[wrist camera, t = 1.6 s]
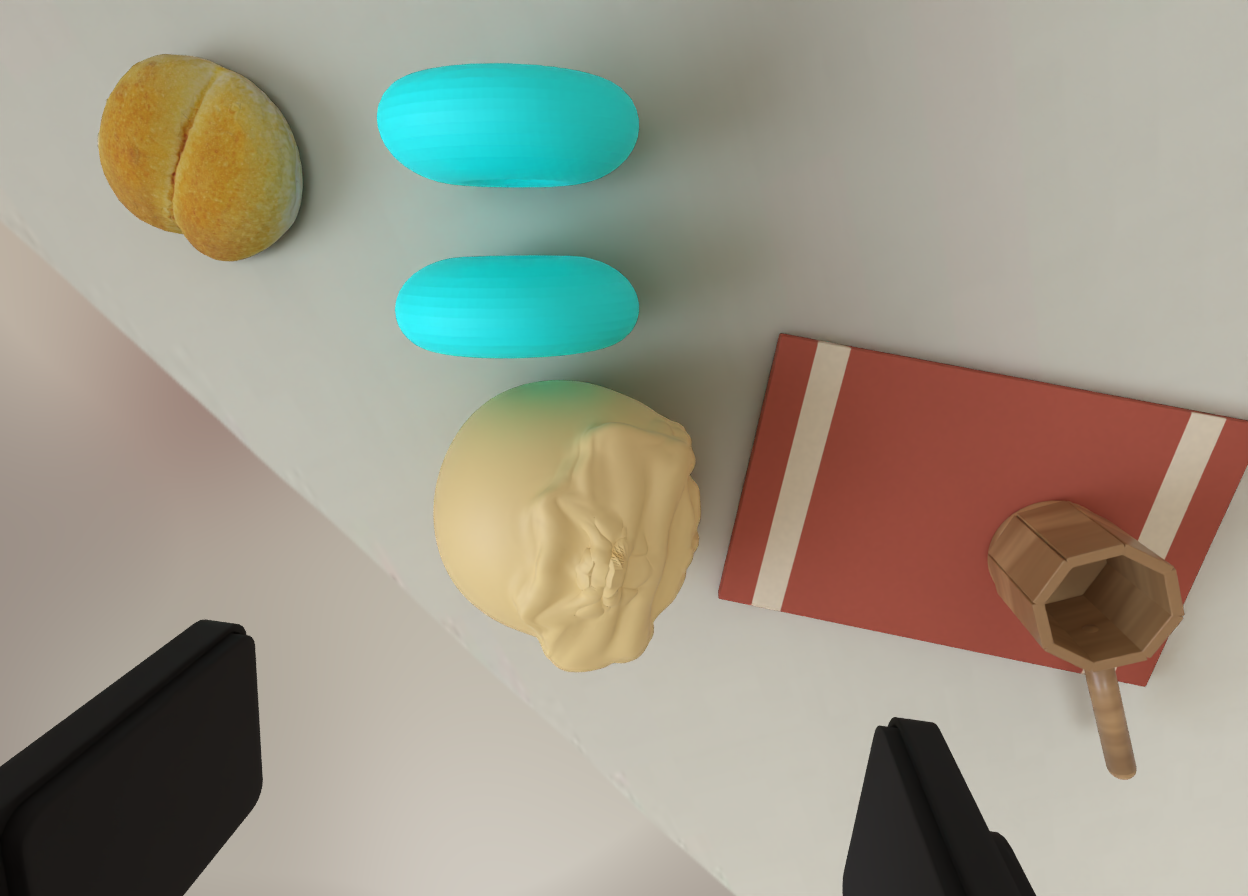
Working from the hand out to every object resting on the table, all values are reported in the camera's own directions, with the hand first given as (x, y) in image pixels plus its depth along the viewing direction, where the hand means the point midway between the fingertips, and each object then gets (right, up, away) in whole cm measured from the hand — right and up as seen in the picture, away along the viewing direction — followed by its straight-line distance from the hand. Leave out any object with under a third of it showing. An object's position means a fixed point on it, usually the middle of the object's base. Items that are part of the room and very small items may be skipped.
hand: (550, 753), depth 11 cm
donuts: (-3, +15, +24) cm, 28 cm away
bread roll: (-18, +18, +24) cm, 36 cm away
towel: (+18, +1, +25) cm, 31 cm away
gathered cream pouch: (-1, +3, +27) cm, 27 cm away
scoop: (+23, -4, +25) cm, 35 cm away
